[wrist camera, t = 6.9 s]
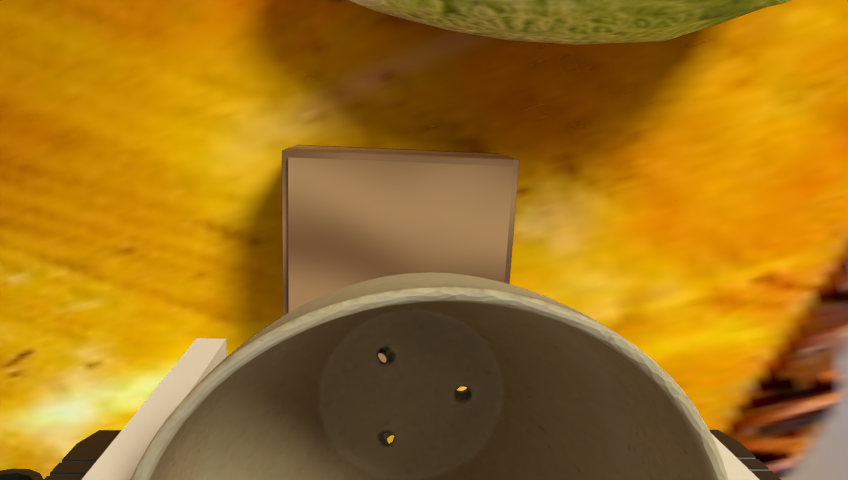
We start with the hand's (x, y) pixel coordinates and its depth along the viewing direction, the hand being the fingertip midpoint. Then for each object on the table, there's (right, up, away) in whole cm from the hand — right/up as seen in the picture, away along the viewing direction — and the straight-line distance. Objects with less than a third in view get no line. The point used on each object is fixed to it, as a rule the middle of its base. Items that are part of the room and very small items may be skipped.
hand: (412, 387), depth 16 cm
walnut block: (-1, +4, +17) cm, 17 cm away
